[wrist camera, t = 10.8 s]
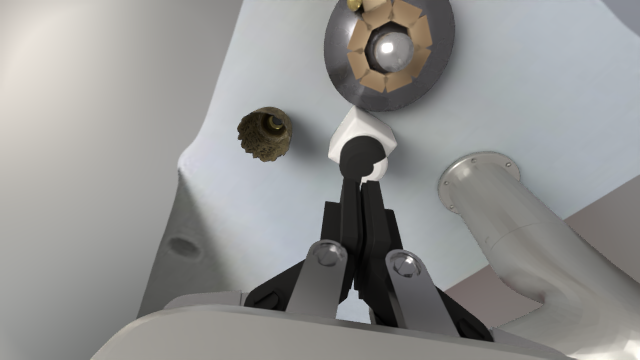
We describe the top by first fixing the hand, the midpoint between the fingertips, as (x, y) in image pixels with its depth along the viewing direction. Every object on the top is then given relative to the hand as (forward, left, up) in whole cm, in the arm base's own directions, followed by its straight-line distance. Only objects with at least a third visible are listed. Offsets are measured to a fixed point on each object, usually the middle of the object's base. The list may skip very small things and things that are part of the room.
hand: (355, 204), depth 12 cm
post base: (+3, -6, -29) cm, 30 cm away
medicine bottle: (-7, +1, -29) cm, 30 cm away
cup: (0, +13, -29) cm, 32 cm away
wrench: (+6, -6, -26) cm, 27 cm away
